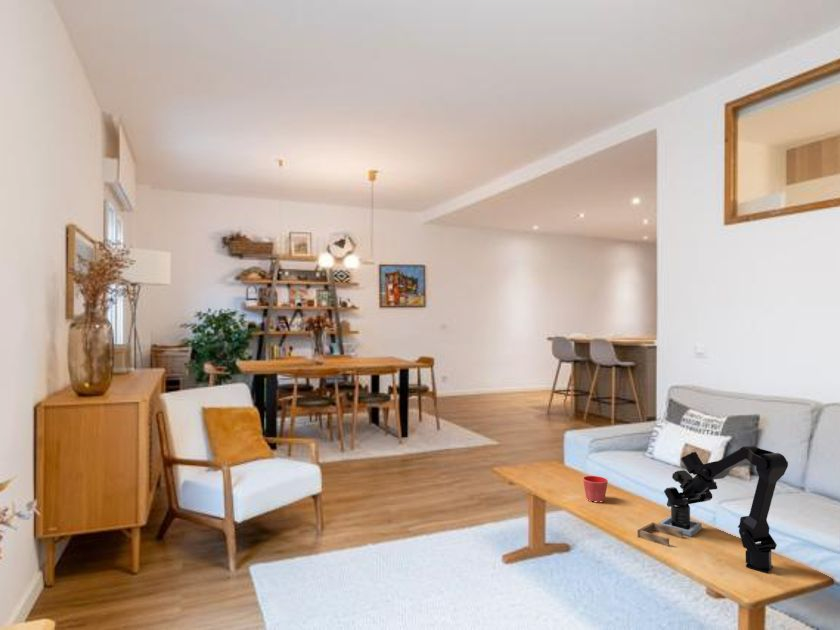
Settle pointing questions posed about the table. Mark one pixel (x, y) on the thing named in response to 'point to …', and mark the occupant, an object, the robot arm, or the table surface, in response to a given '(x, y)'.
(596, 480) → the flower pot
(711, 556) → the table surface
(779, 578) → the table surface
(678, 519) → the supplement bottle
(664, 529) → the cradle
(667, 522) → the tray
